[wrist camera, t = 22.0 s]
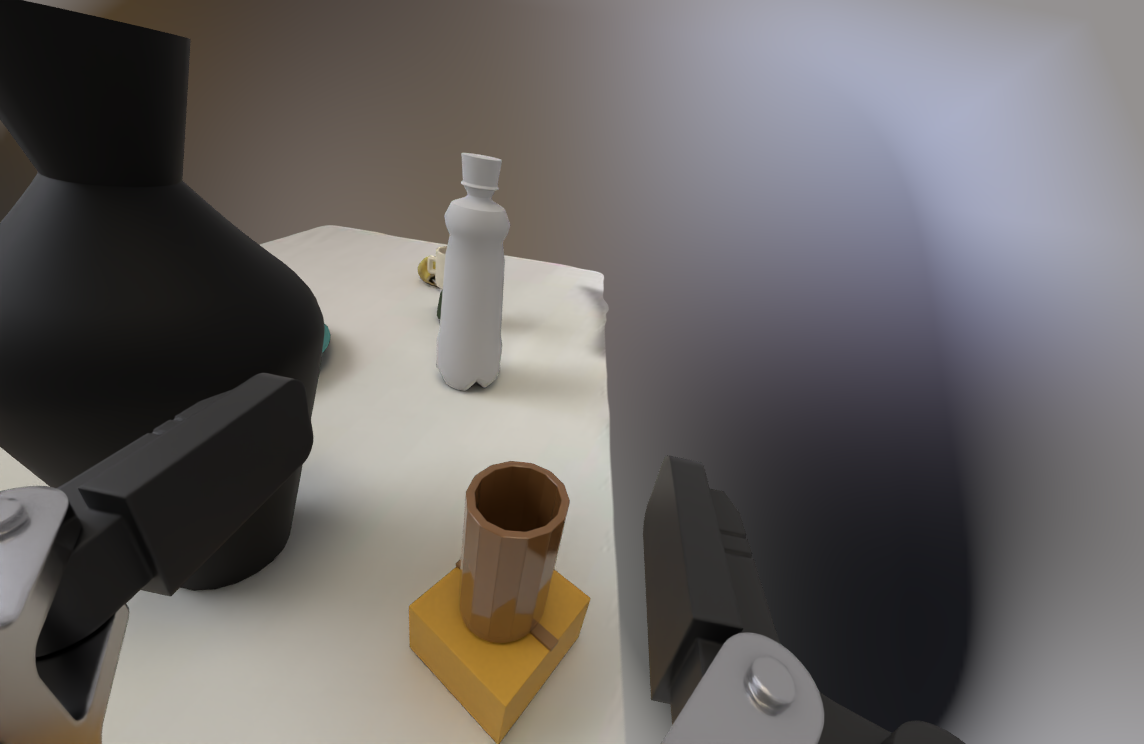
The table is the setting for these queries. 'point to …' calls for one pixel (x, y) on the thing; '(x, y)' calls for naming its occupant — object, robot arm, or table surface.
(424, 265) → the fruit
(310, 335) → the vase
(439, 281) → the character mug
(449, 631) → the box
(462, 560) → the cup
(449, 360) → the bottle
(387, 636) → the table surface
